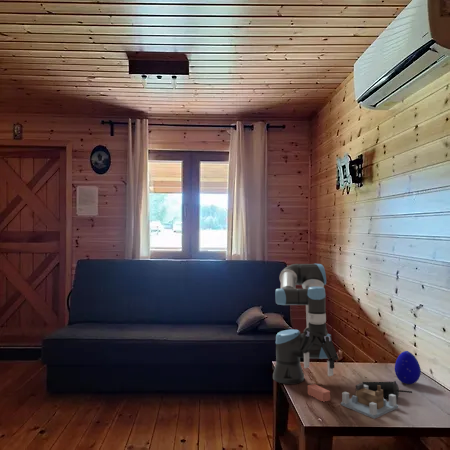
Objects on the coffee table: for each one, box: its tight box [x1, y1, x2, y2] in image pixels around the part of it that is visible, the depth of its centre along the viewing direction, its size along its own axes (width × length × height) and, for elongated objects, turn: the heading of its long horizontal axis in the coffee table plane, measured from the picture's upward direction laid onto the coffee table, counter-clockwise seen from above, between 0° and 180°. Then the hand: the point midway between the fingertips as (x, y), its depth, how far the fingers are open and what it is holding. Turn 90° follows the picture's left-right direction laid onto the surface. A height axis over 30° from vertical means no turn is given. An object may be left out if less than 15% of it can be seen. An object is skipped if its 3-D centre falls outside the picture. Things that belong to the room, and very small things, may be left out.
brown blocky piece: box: [355, 382, 384, 409], centre depth 168 cm, size 10×4×9 cm, turn 39°
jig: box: [340, 384, 399, 420], centre depth 168 cm, size 16×16×5 cm
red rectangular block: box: [307, 383, 331, 403], centre depth 178 cm, size 10×4×4 cm, turn 28°
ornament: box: [394, 350, 422, 385], centre depth 192 cm, size 11×9×15 cm
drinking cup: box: [362, 381, 413, 401], centre depth 176 cm, size 8×8×20 cm
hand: (318, 371), depth 178 cm, fingers open, 13 cm apart
